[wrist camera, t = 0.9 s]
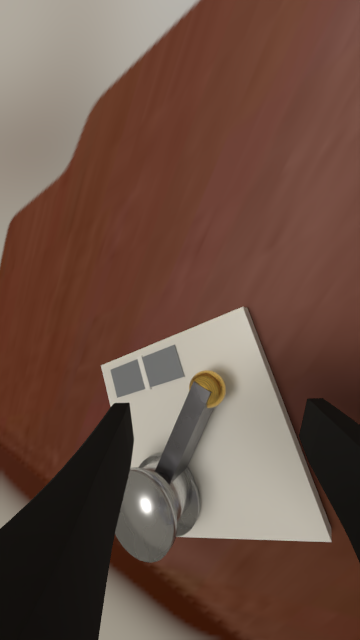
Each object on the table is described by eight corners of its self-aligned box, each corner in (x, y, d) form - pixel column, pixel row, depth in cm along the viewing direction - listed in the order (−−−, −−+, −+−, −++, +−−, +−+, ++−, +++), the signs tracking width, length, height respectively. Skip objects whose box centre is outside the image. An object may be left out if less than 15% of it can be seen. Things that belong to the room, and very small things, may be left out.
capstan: (183, 548, 23) (148, 601, 19) (130, 493, 27) (90, 526, 22) (259, 391, 20) (241, 408, 16) (190, 351, 24) (158, 356, 19)
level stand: (331, 527, 19) (331, 544, 18) (149, 525, 27) (139, 537, 26) (247, 308, 23) (242, 306, 21) (110, 364, 31) (99, 365, 30)
